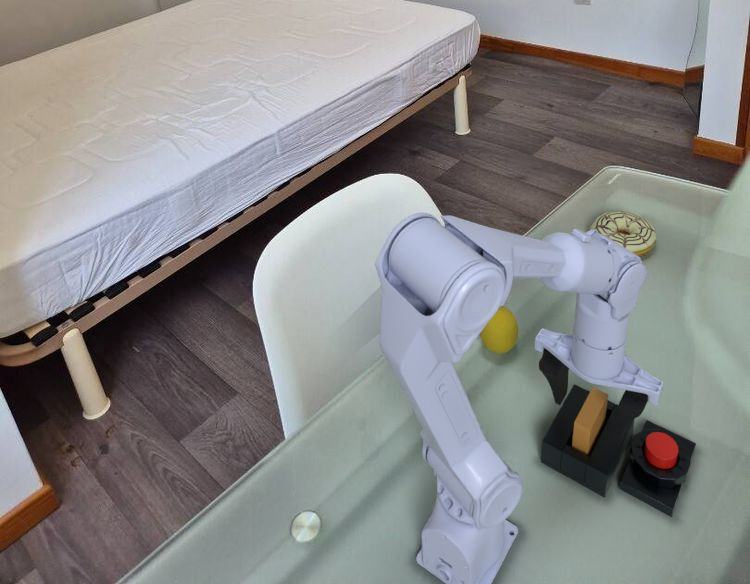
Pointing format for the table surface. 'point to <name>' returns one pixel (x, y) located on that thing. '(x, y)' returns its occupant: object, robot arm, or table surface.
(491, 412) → the table surface
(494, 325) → the lemon
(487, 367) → the table surface
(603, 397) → the toast
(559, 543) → the table surface
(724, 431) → the table surface
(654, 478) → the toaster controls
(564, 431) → the toaster
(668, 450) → the button
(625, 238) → the decorated donut
